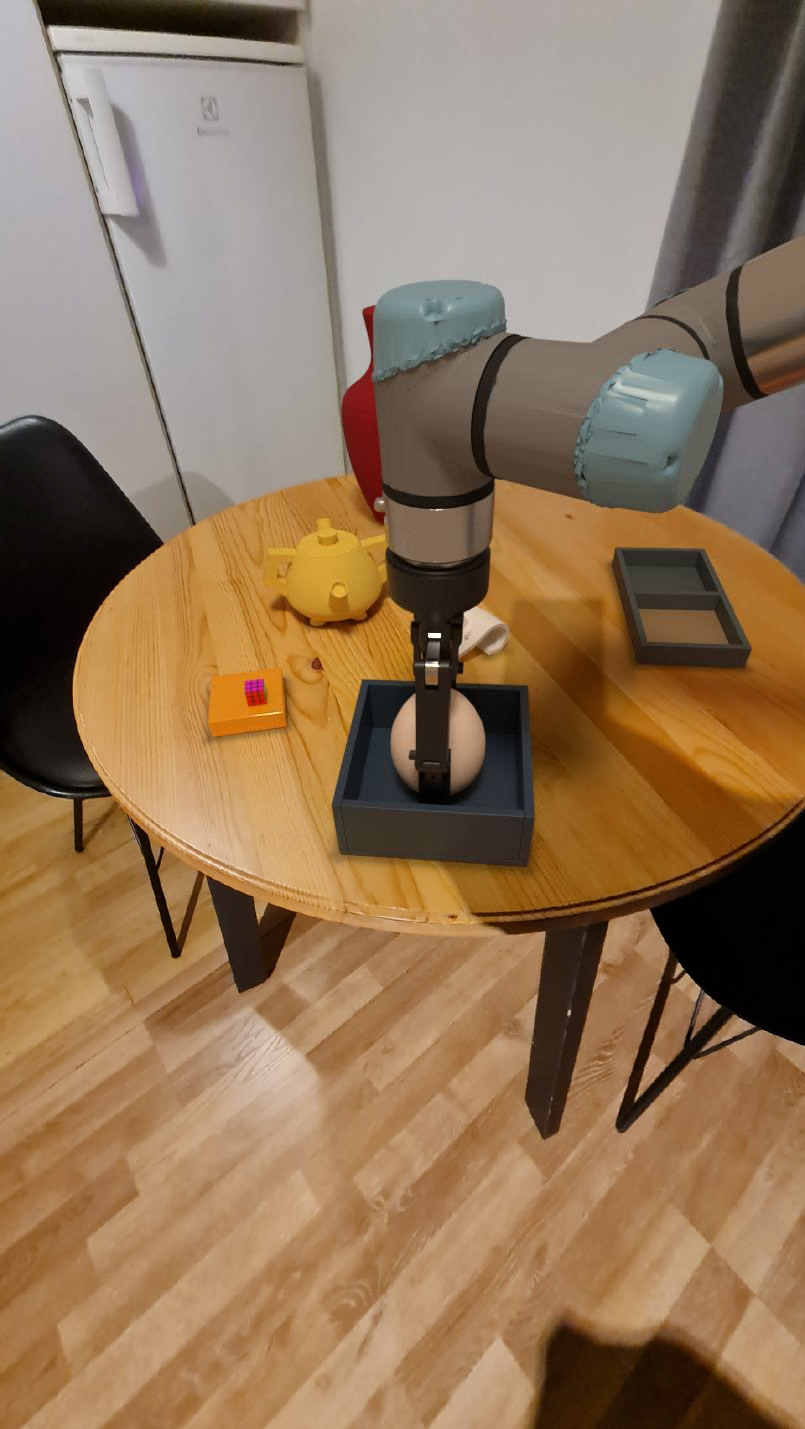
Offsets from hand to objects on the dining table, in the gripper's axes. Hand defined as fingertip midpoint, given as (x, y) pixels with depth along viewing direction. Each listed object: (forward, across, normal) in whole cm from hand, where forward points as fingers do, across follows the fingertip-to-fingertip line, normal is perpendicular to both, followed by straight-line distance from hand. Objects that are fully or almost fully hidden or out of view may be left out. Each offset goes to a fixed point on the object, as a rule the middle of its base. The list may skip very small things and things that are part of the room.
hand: (438, 764), depth 61 cm
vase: (+4, -58, -11) cm, 60 cm away
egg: (+3, 0, 0) cm, 3 cm away
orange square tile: (+4, -10, -22) cm, 25 cm away
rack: (+4, -33, +28) cm, 43 cm away
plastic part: (+4, -24, +1) cm, 24 cm away
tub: (+4, 0, 0) cm, 4 cm away
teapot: (+4, -32, -16) cm, 36 cm away
